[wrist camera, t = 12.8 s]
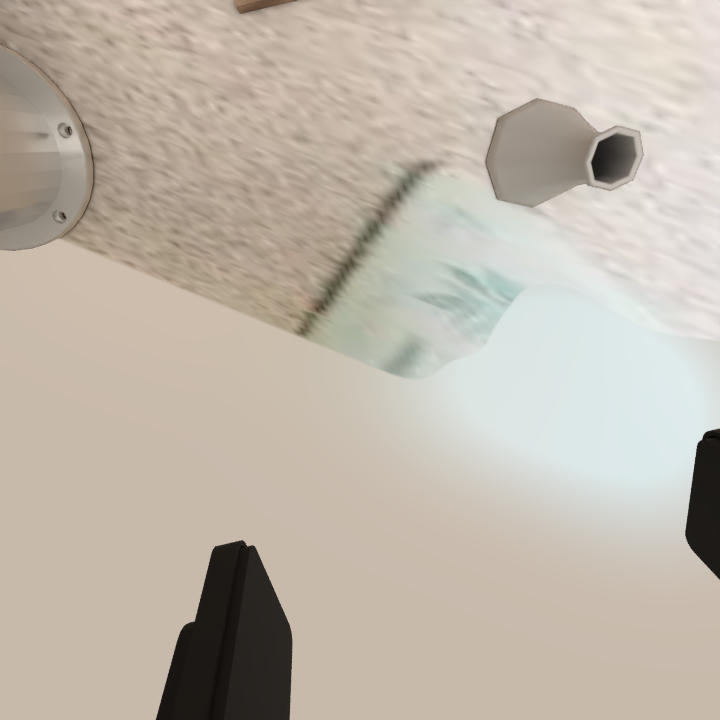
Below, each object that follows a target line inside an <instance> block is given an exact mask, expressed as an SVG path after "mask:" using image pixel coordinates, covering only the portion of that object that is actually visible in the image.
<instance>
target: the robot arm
mask: <svg viewBox="0 0 720 720" xmlns="http://www.w3.org/2000/svg"><path fill="white" fill-rule="evenodd" d="M68 127H71V129H72V135H70V134H69V132H68ZM92 185H93V161H92V156H91V151H90V146H89V142H88V139H87V137H86V134H85V132H84V129H83V126H82V124H81V122H80V120H79V118H78V116H77V115H76V113H75V111H74V109H73V108H72V106H71V104H70V103H69V101H68V100H67V99H66V98H65V96H64V95H63V94H62V92H61V91H60V90H59V89H58V87H57V86H56V85H55V84H54V83H53V82H52V81H51V80H50V79H49V78H48V77H47V76H46V75H45V74H44V73H43V72H42V71H41V70H40V69H39V68H38V67H36V66H35V65H33V64H32V63H31V62H29V61H28V60H26V59H25V58H23V57H22V56H21V55H19V54H18V53H16V52H14V51H12V50H10V49H8V48H6V47H4V46H2V45H0V250H12V251H15V250H22V249H31V248H35V247H38V246H41V245H44V244H47V243H49V242H51V241H53V240H55V239H58V238H60V237H62V236H63V235H64V234H65V233H66V232H68V231H69V230H70V229H71V228H73V227H74V226H75V224H76V223H77V222H78V220H79V219H80V218H81V216H82V215H83V213H84V211H85V209H86V207H87V204H88V202H89V200H90V196H91V190H92ZM63 212H64V214H65V215H66V218H67V219H66V218H64V217H63V215H62V213H63ZM685 532H686V533H685V536H686V539H687V542H688V544H689V546H690V547H691V549H692V550H693V551H694V553H695V554H696V555H697V556H698V557H699V558H700V559H701V560H702V561H703V562H704V563H705V564H706V565H707V567H708V568H710V570H711V571H712V572H713V573H714V574H715V575H716V576H717V577H718V578H719V579H720V429H716V430H711V431H707V432H706V433H705V434H704V436H703V438H702V440H701V441H700V442H699V443H698V445H697V450H696V457H695V465H694V472H693V481H692V487H691V495H690V502H689V509H688V516H687V524H686V531H685ZM291 669H292V633H291V629H290V625H289V623H288V620H287V618H286V616H285V613H284V611H283V609H282V607H281V604H280V602H279V600H278V598H277V595H276V593H275V591H274V588H273V586H272V584H271V582H270V579H269V577H268V575H267V573H266V571H265V568H264V566H263V563H262V561H261V559H260V557H259V554H258V552H257V550H256V548H255V546H253V545H252V546H248V547H247V545H246V543H245V542H244V541H243V540H242V541H237V542H233V543H228V544H224V545H220V546H215V548H214V549H213V551H212V554H211V558H210V562H209V566H208V570H207V574H206V578H205V582H204V587H203V590H202V594H201V599H200V603H199V607H198V611H197V615H196V619H195V622H190V623H188V624H186V625H185V626H184V627H183V628H182V630H181V632H180V635H179V637H178V640H177V644H176V648H175V651H174V655H173V659H172V662H171V666H170V669H169V673H168V677H167V681H166V684H165V688H164V692H163V695H162V699H161V703H160V706H159V710H158V714H157V718H156V720H289V719H290V718H289V717H290V694H291Z"/></svg>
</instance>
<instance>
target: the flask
mask: <svg viewBox="0 0 720 720" xmlns="http://www.w3.org/2000/svg"><path fill="white" fill-rule="evenodd" d="M643 156H644V154H643V148H642V142H641V135H640V131H636V130H633V129H629V128H625V127H621V126H614V127H612V128H610V129H608V130H606V131H604V132H598V131H597V130H596V129H595V128H593V127H592V126H591V125H590V124H589V123H588V122H587V121H586V120H585V119H584V118H583V116H582V115H581V114H580V113H579V112H578V111H577V110H576V109H575V108H572V107H568V106H564V105H561V104H557V103H553V102H550V101H546V100H542V99H538V98H537V99H535V100H533V101H531V102H529V103H527V104H525V105H523V106H521V107H519V108H517V109H515V110H514V111H512V112H510V113H508V114H506V115H504V116H502V117H500V118H499V119H498V123H497V126H496V129H495V133H494V136H493V140H492V143H491V146H490V150H489V153H488V157H487V160H486V164H487V167H488V170H489V173H490V176H491V180H492V183H493V186H494V189H495V192H496V196H497V199H498V200H502V201H506V202H511V203H515V204H520V205H524V206H529V207H534V206H536V205H539V204H541V203H543V202H545V201H547V200H549V199H551V198H553V197H555V196H557V195H559V194H561V193H563V192H565V191H567V190H570V189H572V188H573V187H575V186H577V185H582V184H587V185H588V186H592V187H596V188H600V189H604V190H608V191H612V190H614V189H616V188H618V187H620V186H622V185H624V184H626V183H628V182H630V181H633V180H634V177H635V175H636V173H637V170H638V168H639V165H640V163H641V161H642V158H643Z"/></svg>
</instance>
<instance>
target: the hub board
mask: <svg viewBox="0 0 720 720" xmlns="http://www.w3.org/2000/svg"><path fill="white" fill-rule="evenodd" d="M291 1H295V0H235V4H236V7H237V9H238V11H239V12H240V13H245V12H249V11H253V10H257V9H261V8H266V7H270V6H274V5H278V4H283V3H287V2H291Z"/></svg>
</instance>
